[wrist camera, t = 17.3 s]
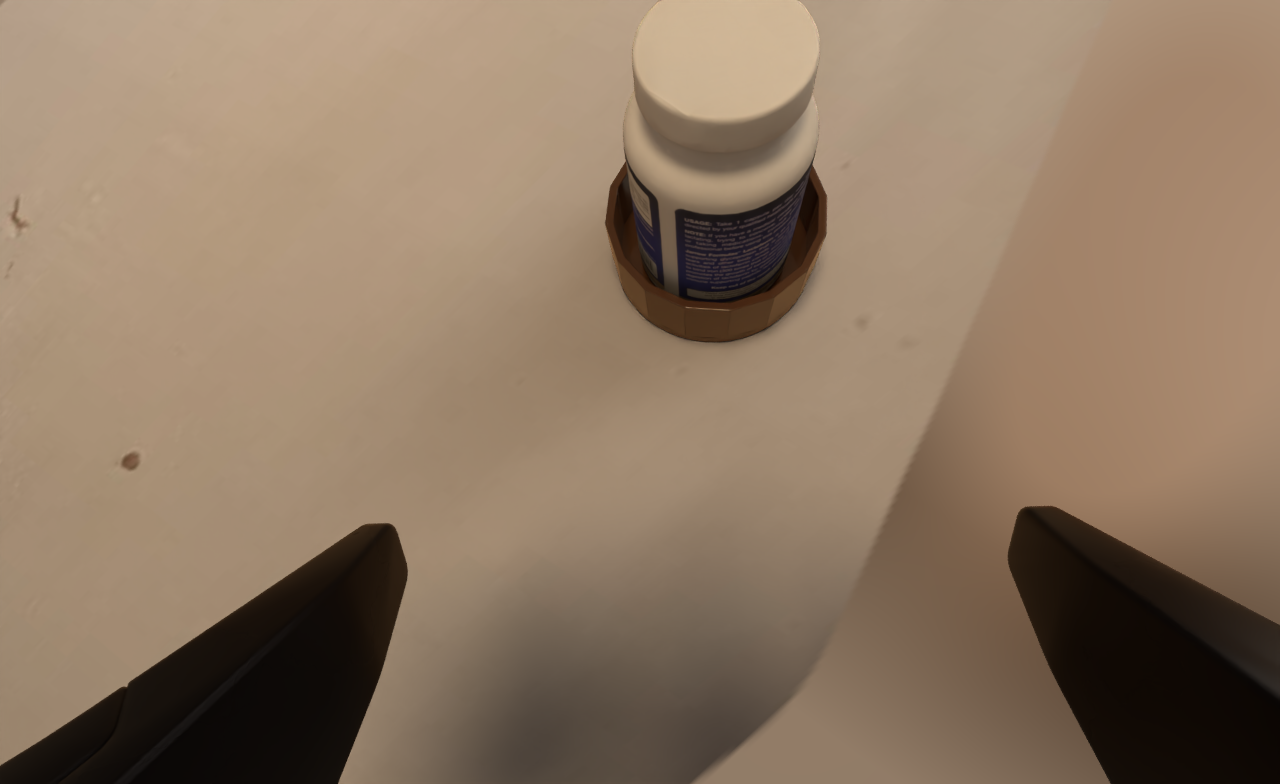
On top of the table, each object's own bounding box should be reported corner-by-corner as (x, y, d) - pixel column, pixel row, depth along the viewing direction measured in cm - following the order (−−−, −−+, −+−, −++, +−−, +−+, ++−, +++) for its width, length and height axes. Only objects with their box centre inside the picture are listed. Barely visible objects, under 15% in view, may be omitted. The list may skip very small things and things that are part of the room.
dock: (853, 259, 25) (874, 216, 23) (702, 382, 24) (704, 354, 21) (721, 136, 28) (725, 83, 25) (577, 244, 26) (563, 202, 24)
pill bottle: (811, 222, 25) (884, 2, 16) (743, 341, 24) (777, 178, 15) (684, 165, 27) (680, -71, 17) (612, 276, 25) (566, 86, 16)
